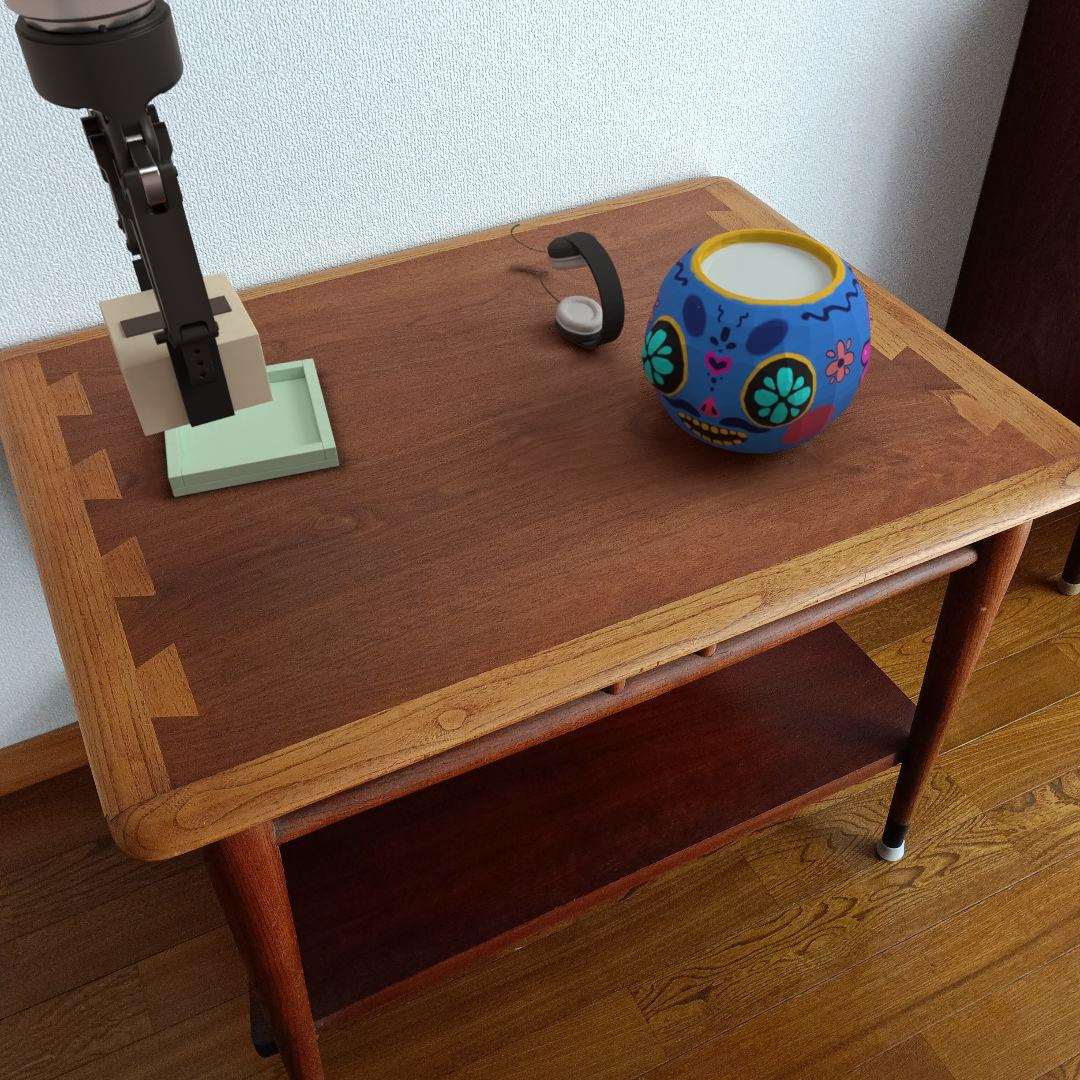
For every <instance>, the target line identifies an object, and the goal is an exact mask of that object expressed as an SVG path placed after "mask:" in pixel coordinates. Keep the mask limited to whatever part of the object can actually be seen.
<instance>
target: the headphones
mask: <svg viewBox="0 0 1080 1080" xmlns="http://www.w3.org/2000/svg"><path fill="white" fill-rule="evenodd" d="M519 226H521V224H520V223H517V224H515V225H514V226H513V227H511V229H510V236H511V237H512V238H513V240H514V241H516V242H517V244H519V245H521V246H523V247H525V248H527V249H529V250H532V251H535V252H538V253H539V252H540V253H546V254H547V255H548V257H549V261H550V262H551V266H552V268H553V269H554V270H558V271H566V270H567V271H568V270H573V269H579V268H583V267H587V266H588V268H589V270H590V272H591V274H592V277H593V280H594V282H595V285H596V287H597V291H598V295H599V299H600V304H599V303H598V302H597V301H595V300H594V299H592V298H590V297H587V296H583V295H571V296H567V297H564V298H563V299H562V300H561V301H560V300H559V299H558V298H557V297H555V296H554V294H552V293H551V291H549V290H548V288H547V287H546V285H545V284H544V281H543V280H542V275H543V274H546V273H549V271H547V270H545V271H539V270H531V269H525V268H520V267H519V268H518V270H522V271H528V272H534V273H540V274H539V281H540V284H541V286H542V287H543V288H544V289H545V291H546V292H547V293H548V294H549V295H550V297H551V298H552V299H553V300H555V301H556V302H557V303H558V305H557V308H556V312H555V316H554V324H555V328H556V331H557V332H558V333H559V334H560V336H561V337H563V338H565V339H566V340H567V341H570V342H572V343H575V344H577V345H578V346H579V347H581V348H583V349H586V350H593V349H595V348H597V347H601V346H603V345H608V344H610V343H613V342H615V341H616V340H617V339H618V338H619V337H620V336H621V334H622V331H623V329H624V325H625V318H626V317H625V315H626V309H625V308H626V307H625V298H624V292H623V288H622V284H621V280H620V277H619V274H618V271H617V269H616V266H615V265H614V262H613V260H612V259H611V257H610V255H609V253H608V252H607V250H606V249H605V247H604V246H603V244H601V243H600V241H598V238H597V237H596V236H595V235H594V234H592V233H590V232H586V231H575V232H572V233H568V234H565V235H561V236H557V237H555V238H554V239H552V240H551V241H550V242H549V244H548V246H547V251H544V250H543V251H542V250H538V249H534V248H531V247H529V246H527V245H526V244H523V243H521V242H520V241H519V240H518V239H517V238H515V236H514V234H513V231H514V229H515V228H517V227H519Z"/></svg>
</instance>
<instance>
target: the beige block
mask: <svg viewBox="0 0 1080 1080" xmlns="http://www.w3.org/2000/svg"><path fill="white" fill-rule="evenodd" d="M203 280H204V283H205V287H206V290H207V294H208V298H209V301H210V305H211V309H212V312H213V316H214V319H215V321H217V323H218V326H219V330H218V331H219V337H216V342H217V346H218V350H219V354H220V357H221V361H222V365H223V369H224V373H225V377H226V381H227V385H228V389H229V393H230V396H231V400H232V404H233V408H234V411H237V410H241V409H244V408H248V407H252V406H255V405H259V404H262V403H266V402H269V401H273V396H272V391H271V387H270V382H269V378H268V374H267V369H266V366H267V365H266V361H265V356H264V352H263V347H262V343H261V338H260V335H259V332H258V330H257V328H256V326H255V325H254V322H253V321H252V319H251V317H250V315H249V313H248V311H247V310H246V308H245V306H244V304H243V302H242V301H241V299H240V296H239V295H238V293H237V290H235V287H234V286H233V284H232V282H231V279H229V277H228V275H227V273H226V271H221V272H217V273H213V274H210V275H205V276H203ZM98 306H99V309H100V312H101V315H102V318H103V321H104V324H105V327H106V331H107V334H108V336H109V339H110V342H111V344H112V348H113V351H114V354H115V357H116V360H117V364H118V366H119V369H120V371H121V374H122V377H123V380H124V382H125V385H126V388H127V391H128V393H129V396H130V399H131V402H132V405H133V407H134V410H135V413H136V415H137V418H138V421H139V423H140V427H141V428H142V431H143V435H144V436H145V437H148V436H151V435H156V434H159V433H162V432H164V431H167V430H170V429H174V428H177V427H181V426H184V425H188V424H190V423H189V420H188V416H187V413H186V410H185V406H184V403H183V399H182V396H181V393H180V389H179V386H178V382H177V379H176V376H175V372H174V369H173V365H172V362H171V359H170V355H169V352H168V349H167V345H166V343H163V344H159V345H157V344H156V342H155V339H154V336H153V333H156V332H160V331H162V330H163V327H164V322H163V319H162V316H161V313H160V310H159V307H158V304H157V301H156V298H155V294H154V291H153V289H151V290H147V291H143V292H141V291H140V292H139V291H138V292H135V293H131V294H127V295H123V296H119V297H115V298H110V299H107V300H102V301H99V302H98Z"/></svg>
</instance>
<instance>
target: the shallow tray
mask: <svg viewBox="0 0 1080 1080" xmlns="http://www.w3.org/2000/svg"><path fill="white" fill-rule="evenodd" d="M266 369H267V374H268V378H269V382H270V387H271V391H272V396H273V401H269V402H266V403H262V404H259V405H255V406H252V407H248V408H244V409H241V410H237V411H234V412H235V415H234V416H231V417H227V418H224V419H220V420H216V421H213V422H209V423H206V424H202V425H199V426H195V427H191V425H190V424H188V425H184V426H181V427H177V428H174V429H170V430H167V431H163V432H164V444H165V454H166V465H167V466H166V467H167V468H166V469H167V478H168V482H169V484H170V488H171V492H172V495H173V497H174V498H177V497H182V496H186V495H187V496H188V495H192V494H197V493H204V492H208V491H209V492H210V491H213V490H218V489H219V490H220V489H225V488H229V487H235V486H241V485H245V484H251V483H255V482H261V481H267V480H272V479H278V478H282V477H283V478H284V477H288V476H292V475H298V474H303V473H309V472H313V471H320V470H325V469H331V468H336V467H339V466H340V461H339V458H338V457H339V456H338V450H337V446H336V442H335V437H334V434H333V430H332V427H331V423H330V419H329V415H328V411H327V406H326V404H325V400H324V395H323V392H322V388H321V385H320V381H319V377H318V372H317V368H316V365H315V361H314V358H312V357H311V358H306V359H299V360H292V361H288V362H283V363H282V362H281V363H275V364H270V365H266Z"/></svg>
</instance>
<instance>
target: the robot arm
mask: <svg viewBox="0 0 1080 1080" xmlns="http://www.w3.org/2000/svg"><path fill="white" fill-rule="evenodd" d="M3 2H4V4H5V6H6V7H7V9H8V10H10V11H11V12H13V13H15V14H17V15H18V17H17V19H16V21H15V24H14V31H15V34H16V37H17V40H18V43H19V46H20V49H21V52H22V56H23V58H24V61H25V65H26V67H27V70H28V74H29V76H30V79H31V82H32V85H33V88H34V90H35V92H36V93H37V94H38V95H39V96H40V98H42V99H43V100H45V101H46V102H48V103H50V104H52V105H54V106H56V107H60V108H64V109H69V110H79V111H80V110H81V109H86V112H87V116H82V117H79V119H80V120H79V121H80V122H81V127H82V130H83V133H84V136H85V140H86V142H87V144H88V147H89V150H91V151H92V152H93V155H94V158H95V161H96V164H97V166H98V169H99V171H100V174H101V177H102V179H103V182H104V183H106V184H107V185H108V187H109V191H110V194H111V199H112V201H113V205H114V208H115V212H116V215H117V220H116V223H117V226H118V229H119V230H121V231H122V233H123V235H124V234H125V246H126V249H127V251H128V252H129V253H130V254H131V256H132V257H135V256H139V258H138V259H134V260H131V263H132V267H133V270H134V273H135V276H136V280H137V283H138V286H139V290H140V292H143V291H147V290H151V289H153V291H154V294H155V298H156V301H157V304H158V307H159V310H160V313H161V316H162V319H163V322H164V327H163V330H162V331H160V332H156V333H153V336H154V339H155V342H156V344H157V345H159V344H163V343H166V345H167V349H168V352H169V355H170V359H171V362H172V365H173V369H174V372H175V376H176V379H177V382H178V386H179V389H180V393H181V396H182V399H183V403H184V406H185V410H186V413H187V416H188V420H189V423H190V425H191V427H195V426H199V425H202V424H206V423H209V422H213V421H216V420H220V419H224V418H227V417H231V416H234V415H235V412H234V408H233V404H232V400H231V396H230V393H229V389H228V385H227V381H226V377H225V373H224V369H223V365H222V361H221V357H220V354H219V350H218V346H217V342H216V337H219V331H218V330H219V326H218V323H217V321H215V319H214V316H213V312H212V309H211V305H210V301H209V298H208V294H207V290H206V287H205V283H204V280H203V277H204V276H203V273H202V269H201V267H200V262H199V258H198V255H197V251H196V247H195V244H194V240H193V235H192V232H191V229H190V226H189V222H188V218H187V215H186V211H185V208H184V197H183V192H182V190H181V187H180V182H179V180H178V177H179V173H178V172H179V171H178V168H177V166H176V165H174V162H173V160H172V156H173V152H174V147H173V142H172V140H171V136H170V133H169V130H168V127H167V124H166V123H165V121H164V120H163V121H160V117H159V113H158V111H157V108H156V105H155V104H154V103H151V102H152V100H154V99H155V98H156V97H158V96H160V95H164V94H166V93H168V92H169V91H171V90H172V89H173V88H175V86H176V85H177V84H178V83H179V82H180V80H181V78H182V77H183V73H184V68H185V67H184V60H183V56H182V52H181V49H180V44H179V39H178V35H177V31H176V26H175V23H174V18H173V14H172V9H171V6H170V5H169V4H168V3H167V1H165V0H3Z"/></svg>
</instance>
